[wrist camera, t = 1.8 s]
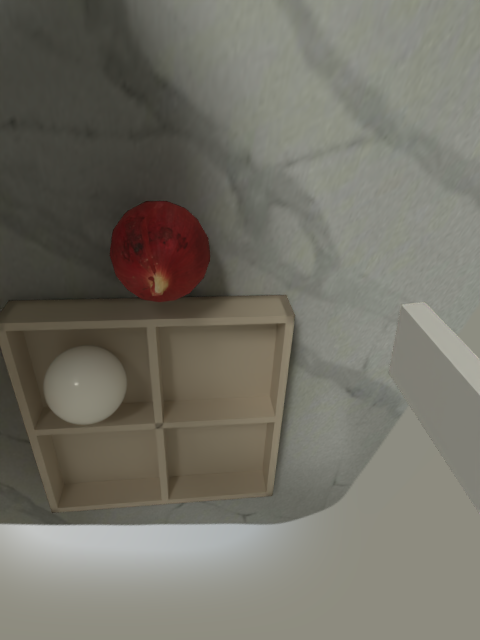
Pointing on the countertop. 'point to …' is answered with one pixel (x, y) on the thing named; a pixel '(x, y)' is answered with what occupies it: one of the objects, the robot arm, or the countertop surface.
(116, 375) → the ceramic egg
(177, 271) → the onion
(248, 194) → the countertop surface
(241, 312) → the wooden tray
